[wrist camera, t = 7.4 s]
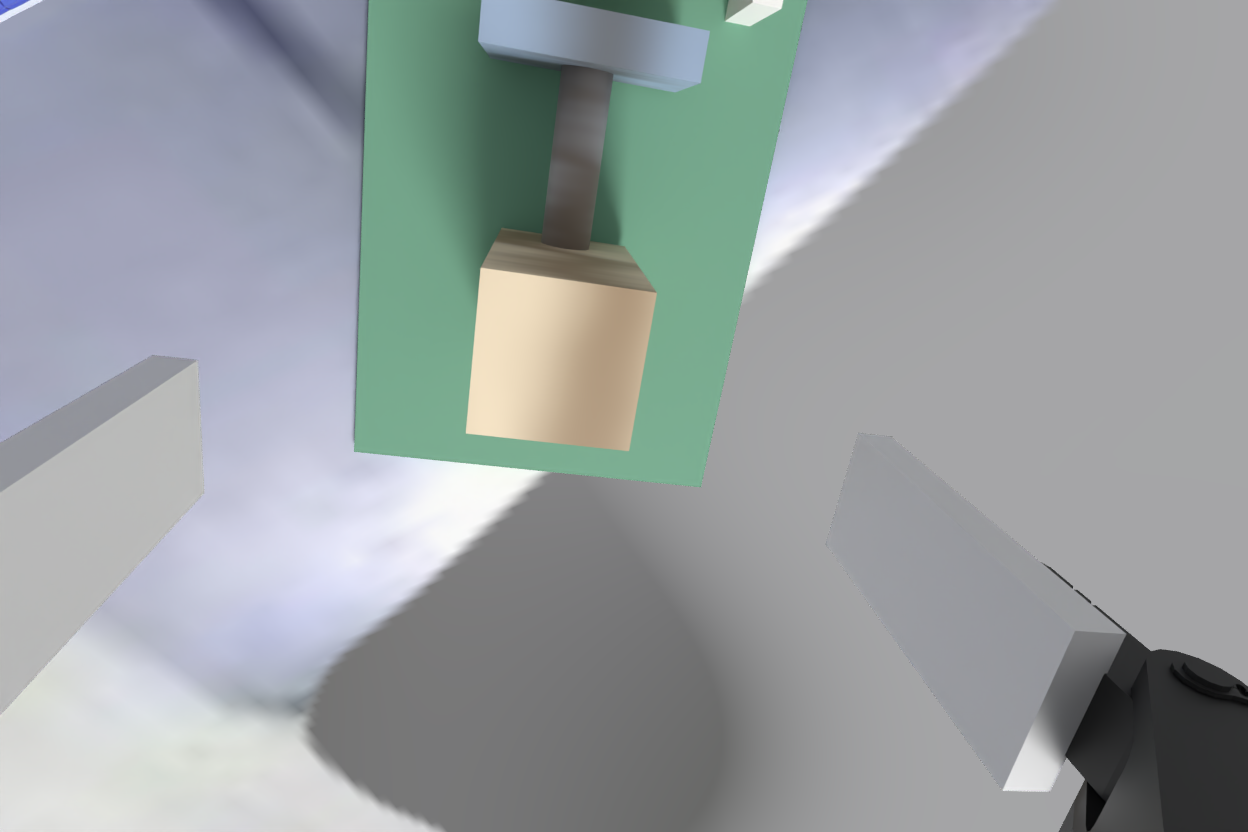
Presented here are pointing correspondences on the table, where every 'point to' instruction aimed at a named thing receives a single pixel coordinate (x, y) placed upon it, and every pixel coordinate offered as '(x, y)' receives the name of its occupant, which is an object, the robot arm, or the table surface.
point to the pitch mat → (515, 199)
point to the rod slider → (570, 237)
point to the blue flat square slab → (14, 7)
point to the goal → (751, 10)
